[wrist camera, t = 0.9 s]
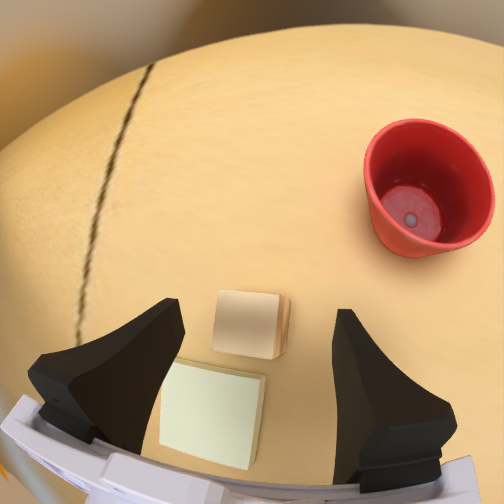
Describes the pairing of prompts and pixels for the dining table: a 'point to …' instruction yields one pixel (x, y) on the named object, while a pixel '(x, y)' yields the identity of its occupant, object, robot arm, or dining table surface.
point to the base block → (212, 412)
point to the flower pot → (426, 188)
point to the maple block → (251, 324)
